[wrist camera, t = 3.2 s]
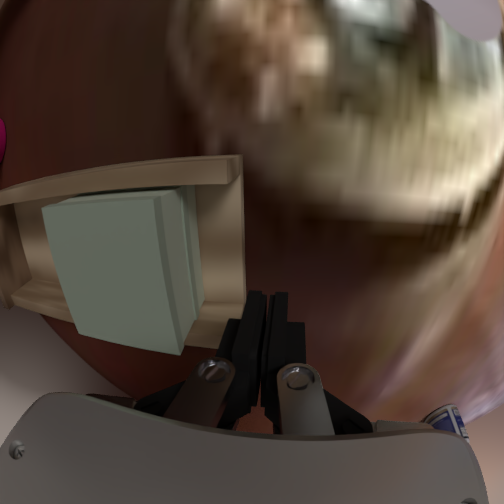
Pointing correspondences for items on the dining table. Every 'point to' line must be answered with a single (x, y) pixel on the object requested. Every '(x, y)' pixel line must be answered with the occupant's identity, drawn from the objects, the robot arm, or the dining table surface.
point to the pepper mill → (2, 139)
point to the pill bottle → (448, 420)
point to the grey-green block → (129, 264)
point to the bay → (122, 177)
